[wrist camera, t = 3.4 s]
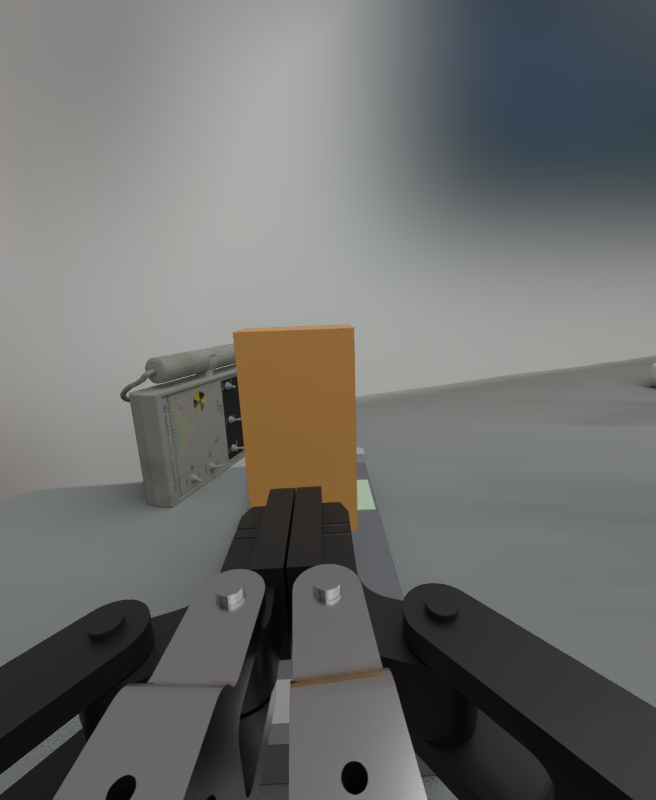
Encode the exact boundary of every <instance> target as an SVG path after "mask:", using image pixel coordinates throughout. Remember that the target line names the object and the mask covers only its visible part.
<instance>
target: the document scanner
mask: <svg viewBox="0 0 656 800" xmlns="http://www.w3.org/2000/svg"><path fill="white" fill-rule="evenodd" d="M650 381H652V382H654V383H656V363H655V364H653V365H652V369H651V373H650Z"/></svg>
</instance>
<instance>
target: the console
mask: <svg viewBox="0 0 656 800" xmlns="http://www.w3.org/2000/svg"><path fill="white" fill-rule="evenodd" d="M356 459H357V513H358V531H351V534H352V540H353V547H354V554H355V561H356V568H357V573H358V576H359V578H360V580H361V582H362V583H363V584H364V585H365V586H366V587H367V588H369V589H370V590H371V591H373V592H375V593H377V594H379V595H382V596H385V597H389V598H393V599H398V600H403V601H404V598H403V594H402V591H401V587H400V584H399V580H398V577H397V573H396V570H395V566H394V563H393V560H392V556H391V553H390V549H389V546H388V542H387V539H386V535H385V532H384V528H383V525H382V521H381V518H380V514H379V511H378V507H377V504H376V500H375V497H374V493H373V490H372V486H371V483H370V480H369V476H368V473H367V469H366V466H365V453H364V450H363V448H356ZM291 680H293V646H292V658H291V660H279V666H278V675H277V681H276V684H275V685H276V703H275V708H274V714H273V719H272V724H271V730H270V735H269V740H268V746H267V751H266V757H265V762H264V767H263V773H262V778H261V783H260V784H280V783H289V701H290V681H291ZM414 753H415V751H414ZM415 757H416V761H417V764H418V768H419V771H420V775H421V776H432V775H436V774H435V773H434V772H433V771H432V770H431V769H430V768H429V767H428V766H427V765H426V764H425V763H424V761H423V760H422V759H421V758H420V757H419V756H418V755H417V754H416V753H415Z"/></svg>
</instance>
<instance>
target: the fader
mask: <svg viewBox="0 0 656 800" xmlns="http://www.w3.org/2000/svg"><path fill="white" fill-rule="evenodd" d="M233 339H234V349H235V359H236V370H237V380H238V390H239V400H240V410H241V420H242V430H243V441H244V451H245V461H246V471H247V481H248V491H249V502H250V509H251V508H252V507H258V506H266V503H267V499H268V496H269V492H270V489H278V488H296V491H297V487H313V486H321V488H322V503H328V502H341V504H342V505H343V506H344V507H345V508H346V509H347V510H348V511H349V519H350V526H351V531H358V513H357V459H356V406H355V357H354V356H355V352H354V328H353V327H352V326H350V325H325V326H298V327H272V328H249V329H248V328H247V329H243V330H240V331H236V332H233Z"/></svg>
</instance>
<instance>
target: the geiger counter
mask: <svg viewBox="0 0 656 800" xmlns="http://www.w3.org/2000/svg"><path fill="white" fill-rule="evenodd" d="M234 363H236V359H235V349H234V343H233V344H229V345H224V346H217V347H212V348H206V349H201V350H195V351H190V352H184V353H179V354H173V355H168V356H162V357H156V358H151V359H149V360H148V361H147V363H146V366H145V370H146V372H145V373H144V374H143V375H142V376H141V378H140V379H139V380H137V381H135V382H133V383H131V384H129V385H128V386H126V387H125V388H124V389H123V391H122V392H121V399H123V400H124V401H127V402H130V404H131V410H132V416H133V422H134V428H135V434H136V439H137V445H138V451H139V457H140V463H141V469H142V475H143V481H144V487H145V493H146V499H147V503H149V504H152V505H154V506H157V507H174V506H175V505H177V504H178V503H180V502H181V501H182V500H184V499H185V498H187V497H188V496H190V495H191V494H192V493H194V492H195V491H197V490H198V489H199V488H201V487H202V486H204V485H205V484H206V483H208V482H209V481H211V480H212V479H214V478H215V477H216V476H218V475H219V474H221V473H222V472H223V471H225V470H226V469H228V468H229V467H231V466H232V465H233V464H235V463H236V462H238V461H239V460H241V459H242V458H243V457H245V451H244V441H243V430H242V420H241V410H240V400H239V390H238V380H237V370H236V364H234ZM230 364H234V365H231V366H227V365H230ZM223 366H227V367H223ZM219 367H223V368H219ZM216 368H219V369H216ZM214 369H216V370H214ZM193 374H196V375H194V376H190V375H193ZM186 376H190V377H187V378H183V379H179V380H176V381H172V382H168V383H164V382H167V381H171V380H175V379H178V378H182V377H186ZM147 378H149V379H150V380H151V381H152V382H154V383H157V384H158V383H164V384H160V385H157V386H153V387H149V388H146V389H142V390H138V391H135V392H131V393H129V397H126V393H127V392H128V391H129V390H130V389H132V388H133V387H135V386H138V385H140V384H141V383H143V382H144V381H145V380H146V379H147Z"/></svg>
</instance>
